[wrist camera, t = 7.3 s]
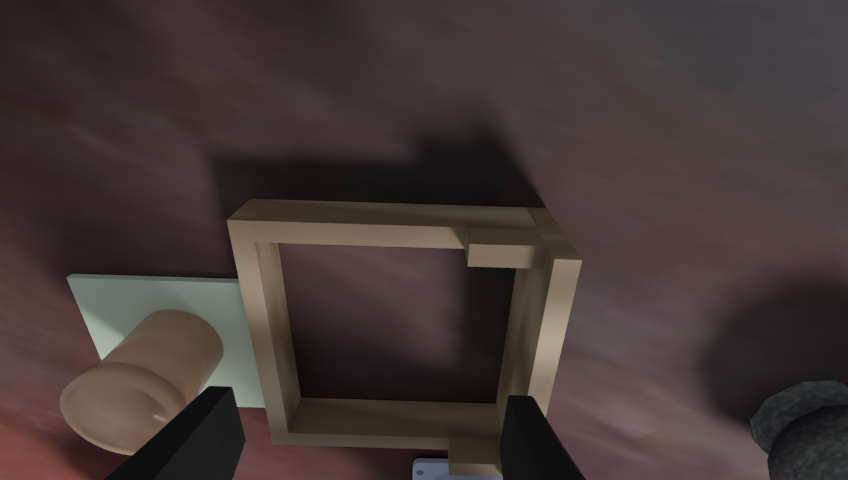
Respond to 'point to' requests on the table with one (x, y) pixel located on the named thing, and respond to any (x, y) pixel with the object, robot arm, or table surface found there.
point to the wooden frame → (407, 227)
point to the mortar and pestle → (805, 431)
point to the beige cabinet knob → (143, 381)
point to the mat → (204, 297)
